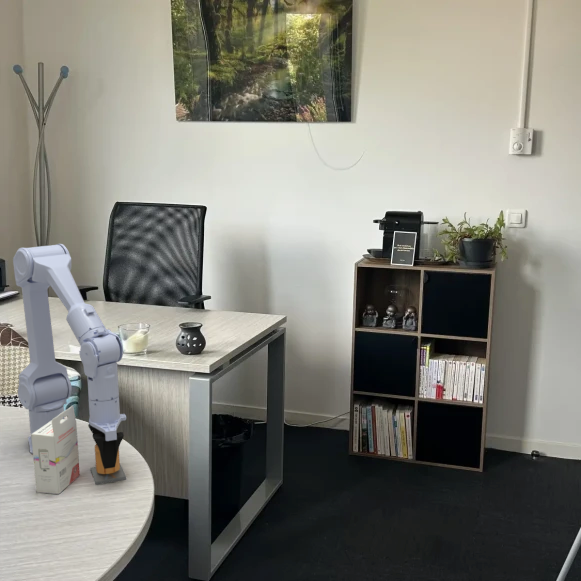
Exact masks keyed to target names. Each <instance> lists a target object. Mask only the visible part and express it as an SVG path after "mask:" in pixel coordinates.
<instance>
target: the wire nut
mask: <svg viewBox="0 0 581 581" xmlns="http://www.w3.org/2000/svg"><path fill="white" fill-rule="evenodd" d="M94 456H95V457H94V458H95V459H94V460H95V467H96V471H97V473H100V474H105V473H106V474H110V473H114V472H116V471H118V470H120V465H121V463H120V448H119V449H118V453H117V460H116V465H115V467H113V468H107V469H104V467H103V464H102V460H101V455H100V451H99V448H98V446H97V444H96V443H95V445H94Z"/></svg>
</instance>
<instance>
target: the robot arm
mask: <svg viewBox="0 0 581 581" xmlns="http://www.w3.org/2000/svg"><path fill="white" fill-rule="evenodd" d="M12 262H13V263H12V266H13V272H14V279H15V285H16V286H17V287H20V288H21V292H22V294H21V295H22V303H23V310H24V319H25V329H26V335H27V343H28V353H29V354H28V355H29V361H30V363H29V364H28V365H27V366H26V367H25V368H23V369H22V370H21V372H20V373H19V374H18V388H17V395H18V399H19V402H20V404H21V405H22V406H23V408H25V409H26V410H28V416H29V417H28V419H29V431H30V432H29V433H30V434H29V436H28V437H27V440H28V441H27V442H28V446H29V453H30V454H32V455H33V448H32V437H31V434H32V433H34V432H35V431H37V430H38V429H40V428H41V427H43V426H44V425H46V424H47V423H49V422H50V421H51V420H52V419H53V418H55V417H57V416H58V415H59V414H61V413H62V412H64V411H65V407H64V405H67V402H68V400H69V398H70V397H71V394H72V391H73V390H72V389H73V388H72V382H71V379H70V377H69V374H68V369H67V367H66V366H65V365H63V364H62V363H60V362H58V361H56V355H55V345H54V338H53V328H52V319H51V310H50V309H51V308H50V302H49V301H50V300H49V293H48V289H49V287H51V288H52V290H53V292H54V293H55V294H56V296H57V298H59V300H60V302H61V303H62V305H63V306H64V307H65V309H66V310H67V315H66V319H65V320H66V322H67V324H68V326H69V328H70V330H71V331H72V333H73V335H74V336H75V338H76V340H77V341H78V344H79V345H80V348H79V349H80V350H78V352H79V358H80V360H81V364H82V365H83V373H84V375H85V376H87V378H86V379H87V390H88V391H87V392H88V394H87V395H88V412H89V419H88V424H87V426H88V429H89V430H90V432H91V433H92V438H93V441H94V443H95V445H96V444H97V446H98V448H99V451H100V455H101V460H102V464H103V467H104V469H107V468H113V467H115V465H116V460H117V453H118V449H119V450H120V445H121V443H122V441H123V439H124V436H125V435H124V432H122V431H120V432H117V430H118V428H119V425H120V424H121V422H123V421H126V420H127V415H126V414H125V413H120V391H119V390H120V389H119V374H118V373H119V372H118V371H119V370H118V369H119V368H118V363H119V362H120V361H121V360H122V358H123V356H124V355H123V354H124V347H123V344H122V341H121V339H120V337H119V335H118V334H116V333H115V332H112V331H111V329H109V328H106V326H105V325H104V323H103V321H102V319H101V316H99V313H97V310H96V309H95V307H94V306H93V305H92V304H89V303H86V302H85V301H84V298H83V296H82V294H81V291H80V289H79V287H78V285H77V283H76V281H75V279H74V276H73V274H72V272H71V271H72V257H71V254H70V252H69V250H68V248H67V247H66V245H65V244H63V243H57V244H52V245H41V246H33V247H20V248H18V249H17V250H16V252H15V254H14V256H13V258H12ZM62 419H65V417H64V416H63V418H62Z"/></svg>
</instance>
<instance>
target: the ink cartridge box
mask: <svg viewBox="0 0 581 581" xmlns="http://www.w3.org/2000/svg"><path fill="white" fill-rule="evenodd" d="M74 407H75V406H73V405H71V406H70V407H69V408H67V409H64V412H62V413H61V414H59V415H58V416H57V417H55V418H53V419H52V420H51V421H50V422H49V423H47V424H46V425H44V426H43V427H41V428H40V429H38V430H37V431H35V432H34V433H32V434H30V436H31V437H32V448H33V454H32V458H33V467H34V468H33V470H34V478H35V480H34V481H35V489H36V490H35V492H36V493H43V494H51V495H52V494H53V495H59V494H61V493H62V492H63V491H64V490H66V488H68V486H70V485H71V484H72V483H73V482H74V481H75V480H76V479H77V478H78V477H79V476H80V459H79V458H80V456H79V445H78V428H77V419H76V415H75V408H74ZM63 416H64V419H62V418H63ZM66 417H67V418H66ZM65 418H66V419H65Z"/></svg>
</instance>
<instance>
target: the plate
mask: <svg viewBox="0 0 581 581" xmlns="http://www.w3.org/2000/svg"><path fill="white" fill-rule="evenodd" d="M90 473H91V475H92V478H93V482H94V484H95V485H102V484H107V483H114V482H119V481H124V480H125V481H126V480H127V476H126V474H125V471H124V469H123V466H122V465H121V464H120V470H118V471H116V472H114V473H110V474H106V473H105V474H100V473H97V471H96V466H93V467H90Z"/></svg>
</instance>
